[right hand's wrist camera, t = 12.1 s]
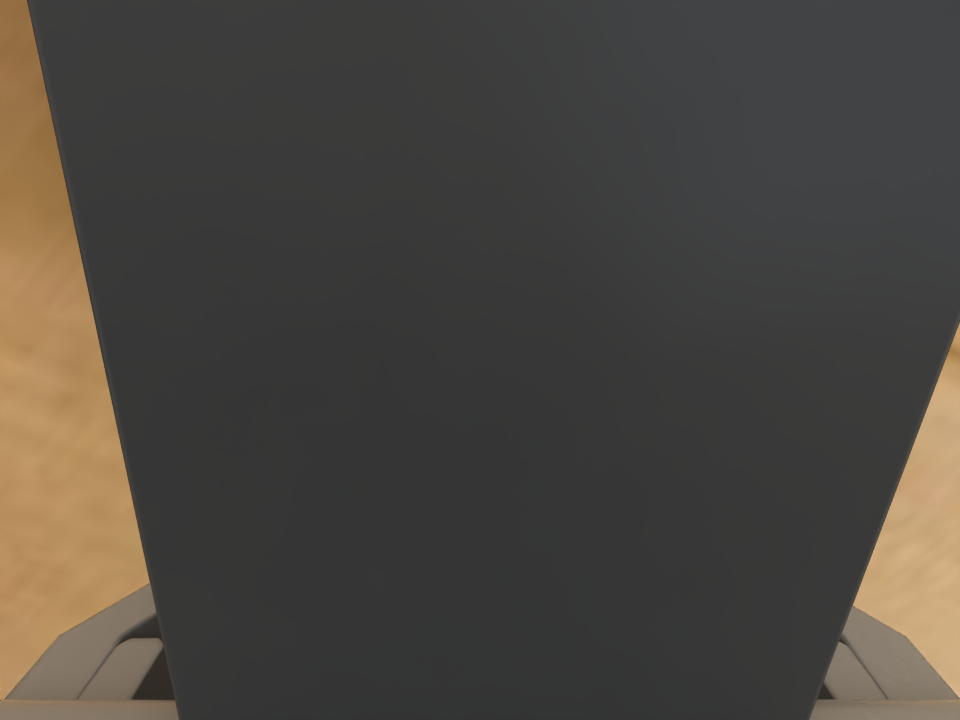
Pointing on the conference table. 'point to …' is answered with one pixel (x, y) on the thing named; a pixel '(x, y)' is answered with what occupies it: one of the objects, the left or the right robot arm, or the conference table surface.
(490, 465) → the bar
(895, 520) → the conference table surface
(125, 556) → the conference table surface
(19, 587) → the conference table surface
